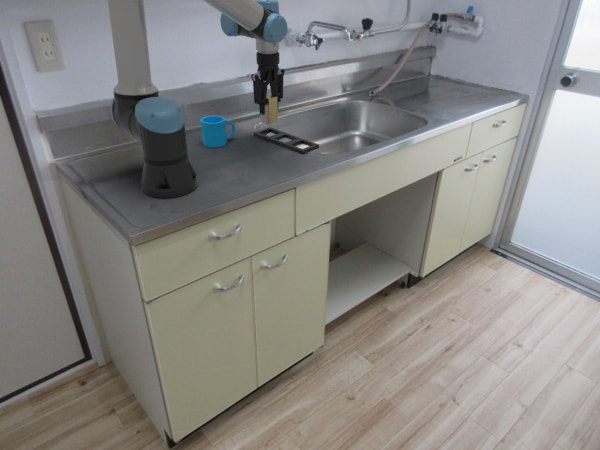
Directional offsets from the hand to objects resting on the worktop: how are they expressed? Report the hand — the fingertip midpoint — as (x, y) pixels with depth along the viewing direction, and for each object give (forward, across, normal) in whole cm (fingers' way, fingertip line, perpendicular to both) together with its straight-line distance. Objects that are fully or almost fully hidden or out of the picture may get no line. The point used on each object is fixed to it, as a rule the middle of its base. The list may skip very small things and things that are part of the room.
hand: (269, 121), depth 160 cm
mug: (+6, -16, +8) cm, 19 cm away
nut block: (0, 0, 0) cm, 0 cm away
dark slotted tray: (+5, 0, -8) cm, 10 cm away
